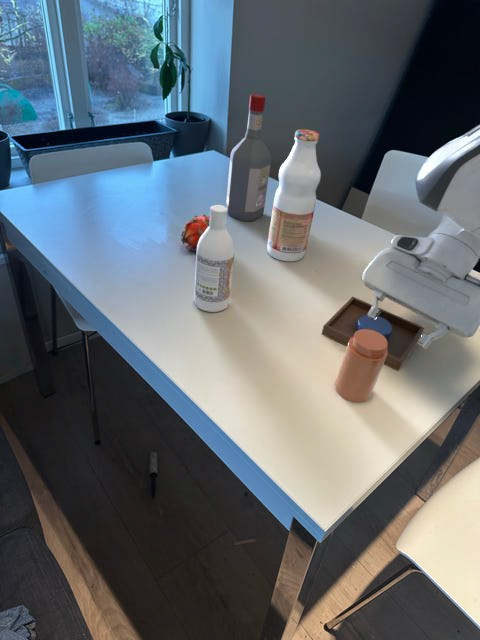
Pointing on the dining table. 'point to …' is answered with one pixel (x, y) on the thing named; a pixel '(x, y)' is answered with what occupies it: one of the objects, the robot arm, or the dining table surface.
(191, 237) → the dragon fruit
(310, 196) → the fruit juice
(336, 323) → the tray
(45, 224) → the dining table surface
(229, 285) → the bath foam
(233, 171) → the liquor
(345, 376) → the jar
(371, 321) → the jar lid
